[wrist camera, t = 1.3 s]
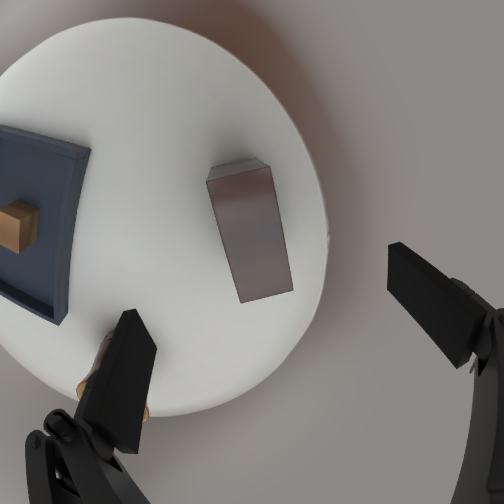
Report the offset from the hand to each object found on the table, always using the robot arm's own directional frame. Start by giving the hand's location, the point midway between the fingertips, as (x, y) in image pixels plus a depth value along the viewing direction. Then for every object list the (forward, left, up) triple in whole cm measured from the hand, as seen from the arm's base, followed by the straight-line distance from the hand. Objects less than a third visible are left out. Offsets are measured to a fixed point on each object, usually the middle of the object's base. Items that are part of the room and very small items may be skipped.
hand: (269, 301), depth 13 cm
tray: (+10, -25, -15) cm, 31 cm away
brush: (0, 0, -15) cm, 15 cm away
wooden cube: (+9, -24, -14) cm, 29 cm away
